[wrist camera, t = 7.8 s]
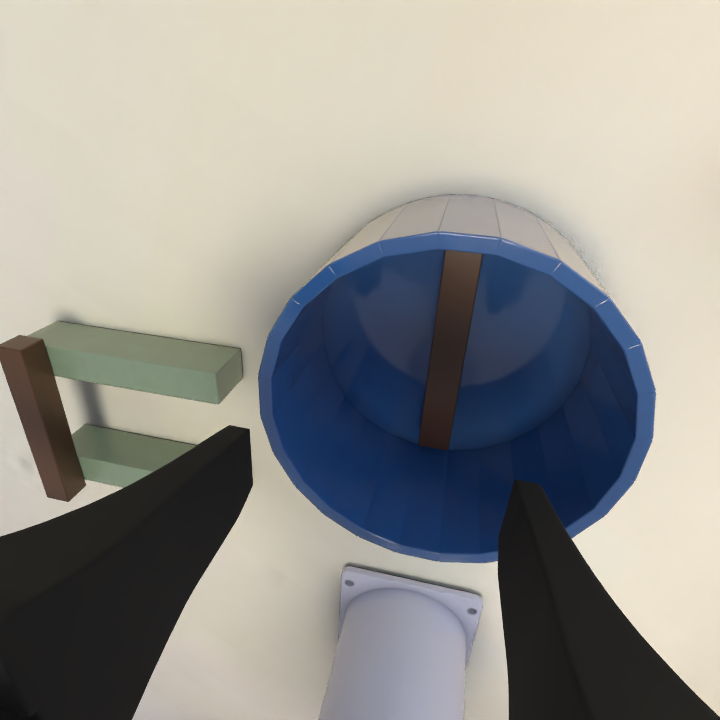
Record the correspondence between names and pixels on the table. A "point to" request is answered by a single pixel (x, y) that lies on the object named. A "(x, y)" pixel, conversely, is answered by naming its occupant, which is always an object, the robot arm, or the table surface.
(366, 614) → the robot arm
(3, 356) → the chopstick
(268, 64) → the table surface
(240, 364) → the miniature wooden rack
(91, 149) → the table surface
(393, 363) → the blue round bowl
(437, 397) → the chopstick
